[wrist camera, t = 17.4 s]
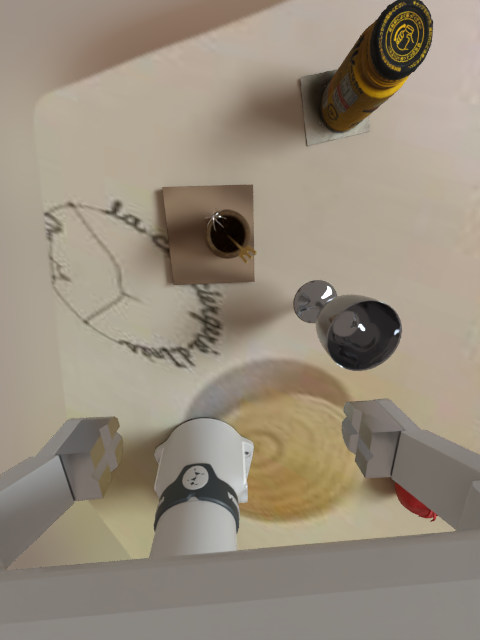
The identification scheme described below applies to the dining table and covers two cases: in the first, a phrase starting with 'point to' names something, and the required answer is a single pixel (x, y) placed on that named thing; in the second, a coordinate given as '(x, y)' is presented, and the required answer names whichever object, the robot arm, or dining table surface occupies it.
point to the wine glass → (349, 325)
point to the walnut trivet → (188, 233)
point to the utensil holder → (228, 235)
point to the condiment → (367, 73)
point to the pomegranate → (413, 503)
